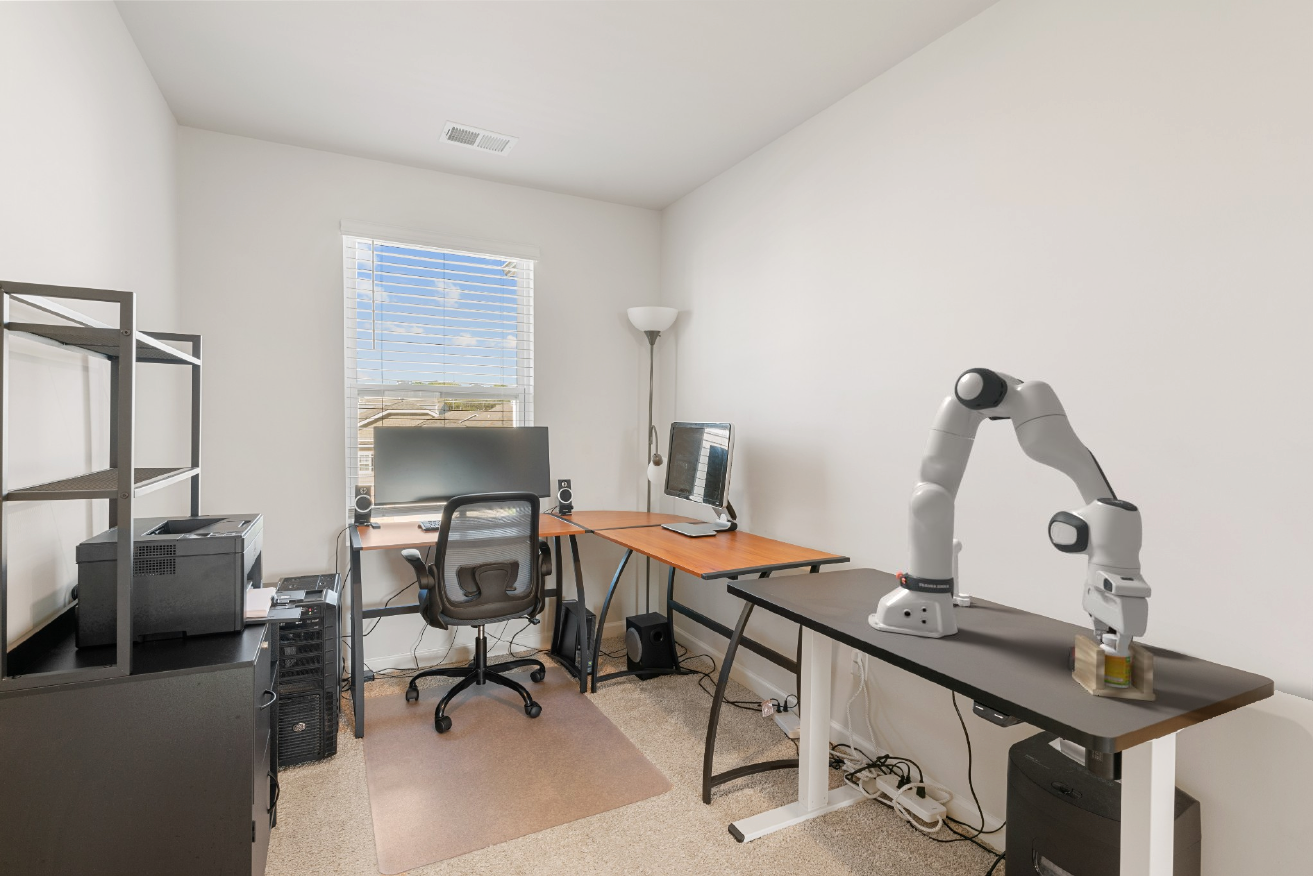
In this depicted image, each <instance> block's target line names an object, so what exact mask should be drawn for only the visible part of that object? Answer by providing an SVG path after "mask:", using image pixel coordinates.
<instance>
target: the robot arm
mask: <svg viewBox="0 0 1313 876" xmlns="http://www.w3.org/2000/svg"><path fill="white" fill-rule="evenodd" d="M985 419H989V420H990V421H994V422H995V421H1002V420H1011V422H1012V425H1013V427H1014V431H1015V434H1016V438H1017V439H1016V440H1017V441H1018V444H1019V446H1020V447H1021V450H1022V451H1023V452H1024V454H1025V456H1027V457H1028V458H1030V459H1031V460H1033V461H1036V462H1038V463H1040V464H1042V465H1046V466H1048V467H1051V468H1053V469H1055V470H1057V471H1059V472H1062V473H1063V474H1065V475H1066V476H1067V477H1069V478H1070V479H1071V480H1072V481H1073V482H1074V483H1075V485H1076V487H1077V490H1078V492H1079V494H1080V495H1081V497H1082V499H1083V501H1084V503H1085V505H1084V506H1081V507H1076V508H1072V509H1067V510H1061V511H1058V512H1056V513H1054V514H1053V516H1052V517H1051V518H1050V520H1049V523H1048V526H1047V534H1048V539H1049V541H1050V542H1051V544H1052V546H1054V548H1055V549H1057V550H1058V551H1059V552H1061V553H1065V554H1070V555H1085V556H1088V557H1087V558H1088V559H1087V572H1086V573H1087V575H1086V576H1087V577H1086V579H1085V582H1084V584H1083V592H1082V598H1081V599H1082V601H1081V605H1082V608H1083V610H1084V611H1085V612H1087V613H1088V614H1089V613H1090V614H1091V615H1092V618H1091V622H1092V627H1093V637H1095V638H1097V639H1098V640H1100V639H1103V634H1106V631H1105V626H1104V623H1105V624H1107V625H1109V626H1110V627H1112V628H1113V629H1115V630H1116V631H1117V636H1118V638H1117V642H1114V650H1115V651H1116V652H1118V653H1119V654H1127V653H1128V645H1129V643H1130V641H1131V640H1132V636H1133V638H1134V637H1136V638H1142V637H1144V635H1145V633H1146V632H1147V627H1148V618H1149V603H1148V600H1147V598H1148V599H1149V598H1151V597H1152V587H1151V586H1150V585H1149V584H1148V583H1147V582H1146V580H1145V578H1144V577H1143V575H1142V574H1141V569H1142V567H1141V566H1142V565H1141V562H1140V558H1139V556H1140V551H1141V548H1142V546H1143V521H1142V516H1141V512H1140V509H1139V508H1138V506H1137V505H1135V504H1133V503H1131V502H1130V501H1126V500H1122V499H1118V497H1117V495H1116V493H1115V491H1114V489H1113V487H1112V485H1111V483H1110V481H1109V480H1108V478H1107V476H1106V475H1105V473H1104V471H1103V468H1102V467H1101V465H1100V463H1099V461H1098V460H1097V458H1096V456H1095V455H1094V453H1092V451H1091V450H1090V449H1089V448H1088V447H1087V446H1085V444H1084V443H1083V442H1082V441H1081V439H1080V438H1079V436H1078V434H1076V432H1075V431H1074V429H1073V427H1072V425H1071V422H1070V421H1069V418H1068V416H1067V413H1066V411H1065V409H1064V407H1063V405H1062V402H1061V401H1060V399H1059V397H1058V395H1057V393H1056V392H1055V391H1054V389H1053V388H1052V386H1051V385H1050V384H1048V383H1047V382H1045V381H1042V380H1029V381H1025V382H1024V381H1023V380H1021V379H1018V378H1016V377H1014V376H1012V375H1010V374H1007V373H1005V372H1000V371H995V370H992V369H989V368H985V367H974V368H972V367H971V368H968V369H967V370H965V371H964V372H962V373H961V374H960V375H959V376H958V378H957V379H956V382H955V384H954V393H950V394H948V395H946V396H945V397H944V398H943V400H942V401H941V403H940V405H939V407H938V409H937V411H936V414H935V415H934V417H933V421H932V423H931V426H930V430H929V433H928V437H927V439H926V440H927V441H926V444H925V446H924V450H923V453H922V456H921V460H920V463H919V467H918V470H917V474H916V476H915V477H916V478H915V481H914V483H913V488H912V492H911V493H910V497H909V500H908V526H907V527H908V539H907V540H908V541H907V542H908V545H907V546H908V547H907V548H908V549H907V552H908V555H907V572H905V573H903V572H901V571H898V572H897V573H896V575H895V576H896V579H897V580H898V581H899V586H898V587H897V588H895V589H893V590H891V591H890V592H889V593H887V594H885V595H883V596H882V597H881V598H880V600H879V602H878V604H877V608H876V613H871V614H870V615H868V620H867V622H868V624H869V625H870V626H871V627H872V628H873V629H876V630H878V631H884V632H888V633H899V634H905V635H906V634H907V635H913V636H920V637H927V638H928V637H929V638H936V639H937V638H938V639H939V638H942V637H944V636H950V635H954V634H956V633H958V632H959V631H958V626H957V623H956V617H955V613H954V604H953V600H952V599H953V596H954V578H953V577H952V563H953V539H954V530H955V508H956V507H955V506H956V505H955V501H956V498H957V495H958V491H959V489H960V485H961V482H962V480H963V477H964V474H965V472H966V468H967V465H968V462H969V458H970V456H971V452H972V449H973V446H974V443H975V438H976V436H977V432H978V429H979V426H980V424H981V423H982V422H983V421H985Z"/></svg>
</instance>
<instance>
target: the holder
mask: <svg viewBox="0 0 1313 876" xmlns="http://www.w3.org/2000/svg"><path fill="white" fill-rule="evenodd" d="M1074 639H1075V641H1074V642H1075V643H1074V645H1075V646H1074V647H1075V671H1072V672H1071V677H1072V679H1073V680H1075V681H1076V682H1077V683H1078V684H1079V683H1080V684H1079V685H1081V686H1082V687H1083V688H1084V689H1085V690H1086V691H1087V690H1088V691H1087V692H1088V693H1090V695H1092V696H1098V695H1099V697H1108V698H1110V697H1111V698H1121V699H1131V700H1138V701H1139V700H1140V701H1141V700H1143V701H1148V702H1149V701H1150V702H1156V694H1155V693H1154V692H1153V689H1154V688H1153V687H1154V654H1155V653H1152V652H1151V651H1149V650H1147V649H1145V648H1144V647H1143V646H1140V645H1139V644H1137V643H1135V642H1134V641H1130V643H1129V645H1128V650H1129V651H1130V686H1129V687H1128V688H1115V687H1110V686H1107V685H1104V670H1105V650H1104V649H1102V648H1101V647H1100V645H1098V644H1096V643H1095V642H1094V641H1092V640H1091V639H1090V638H1088V637H1087V636H1085V635H1083V634H1075V638H1074Z"/></svg>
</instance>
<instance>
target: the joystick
mask: <svg viewBox="0 0 1313 876" xmlns="http://www.w3.org/2000/svg"><path fill="white" fill-rule="evenodd" d="M962 549H963V544H962V542H961V541H960V540H959V539H956V538H953V563H952V577H953V578H954V596H953V599H952V600H953V605H957V604H959V605H963V606H968V607H970V606H971V597H970V596H971V595H970V594H965V593H961V592H959V591H960V590H959V589H960V587H959V586H960V584H959V583H960V582H959V553H960V552H961V551H962Z"/></svg>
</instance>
